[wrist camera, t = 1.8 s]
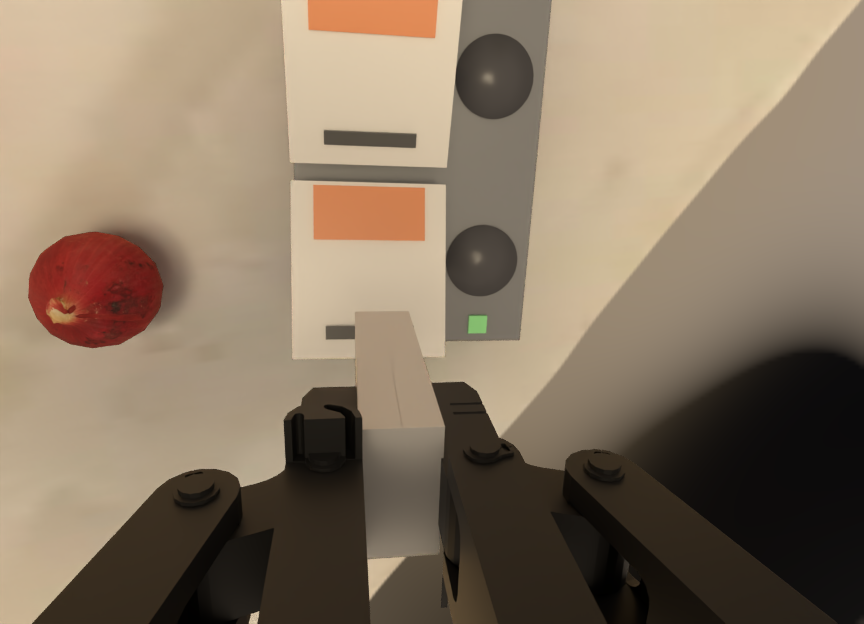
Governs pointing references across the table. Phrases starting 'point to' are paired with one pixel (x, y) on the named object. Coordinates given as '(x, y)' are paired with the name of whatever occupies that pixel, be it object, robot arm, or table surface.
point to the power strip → (482, 166)
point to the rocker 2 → (365, 262)
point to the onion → (95, 289)
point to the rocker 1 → (370, 80)
